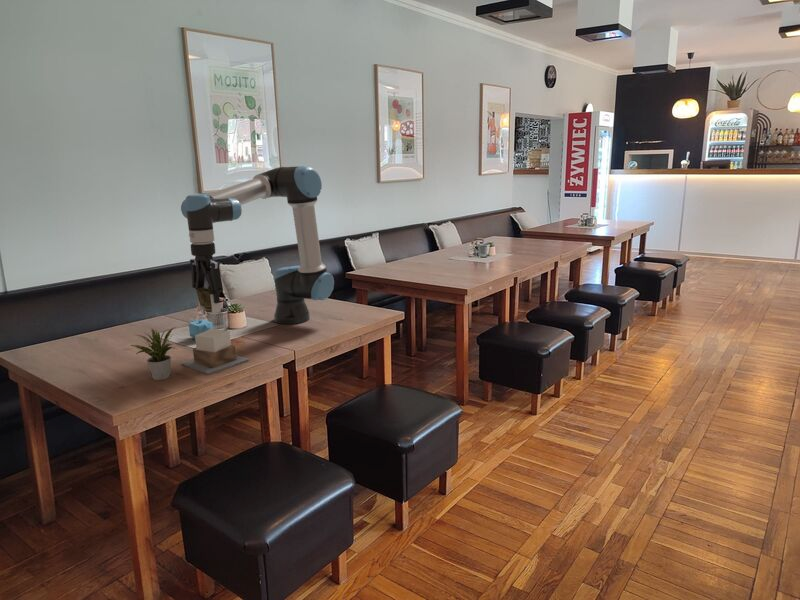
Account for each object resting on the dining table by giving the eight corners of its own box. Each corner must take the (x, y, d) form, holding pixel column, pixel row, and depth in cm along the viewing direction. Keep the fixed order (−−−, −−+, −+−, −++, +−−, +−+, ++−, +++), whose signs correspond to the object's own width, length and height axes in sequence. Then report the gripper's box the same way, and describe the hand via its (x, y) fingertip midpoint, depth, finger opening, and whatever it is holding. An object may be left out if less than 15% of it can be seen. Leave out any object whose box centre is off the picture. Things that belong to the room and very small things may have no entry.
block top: (213, 342, 198) (211, 328, 196) (231, 345, 194) (229, 331, 193) (196, 349, 191) (194, 335, 189) (215, 352, 187) (213, 337, 186)
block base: (219, 354, 201) (218, 340, 199) (236, 359, 194) (235, 346, 193) (194, 362, 193) (192, 348, 192) (211, 368, 187) (209, 354, 186)
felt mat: (222, 351, 205) (222, 350, 205) (249, 360, 195) (249, 359, 195) (181, 364, 193) (181, 363, 193) (208, 374, 183) (208, 373, 183)
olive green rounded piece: (200, 315, 185) (197, 291, 183) (197, 310, 191) (194, 287, 189) (223, 312, 188) (221, 288, 186) (219, 307, 194) (217, 284, 192)
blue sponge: (185, 337, 224) (183, 318, 222) (199, 333, 228) (197, 315, 226) (202, 342, 216) (200, 323, 214) (216, 338, 221) (214, 320, 219)
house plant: (163, 365, 193) (157, 319, 189) (195, 370, 187) (189, 323, 183) (129, 380, 180) (122, 331, 176) (162, 386, 175) (155, 335, 171)
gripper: (175, 242, 187) (183, 308, 193) (209, 246, 175) (217, 317, 180) (195, 239, 193) (203, 304, 198) (230, 243, 180) (237, 312, 186)
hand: (209, 310), depth 189 cm, fingers closed on olive green rounded piece, 7 cm apart
